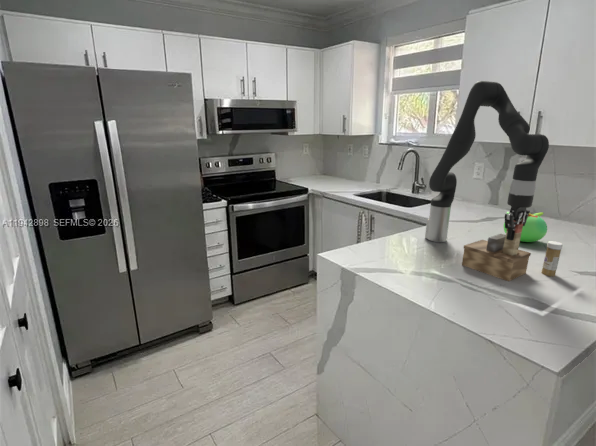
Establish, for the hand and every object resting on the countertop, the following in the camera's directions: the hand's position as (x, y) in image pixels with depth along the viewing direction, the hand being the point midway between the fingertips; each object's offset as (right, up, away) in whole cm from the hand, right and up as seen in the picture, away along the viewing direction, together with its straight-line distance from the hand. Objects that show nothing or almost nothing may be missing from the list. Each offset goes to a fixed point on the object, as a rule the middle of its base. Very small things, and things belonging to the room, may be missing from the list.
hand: (512, 238), depth 129 cm
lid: (-3, -5, +6) cm, 8 cm away
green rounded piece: (+32, -3, +45) cm, 56 cm away
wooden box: (-3, -13, +8) cm, 16 cm away
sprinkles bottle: (+16, -15, +4) cm, 22 cm away
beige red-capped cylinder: (0, -10, +3) cm, 10 cm away
